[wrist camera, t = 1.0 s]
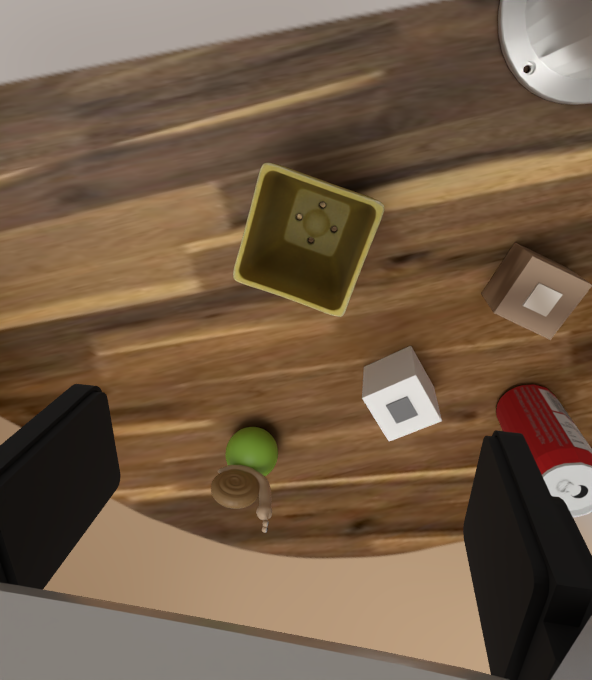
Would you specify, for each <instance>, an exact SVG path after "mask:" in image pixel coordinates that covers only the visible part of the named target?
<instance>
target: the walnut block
mask: <svg viewBox="0 0 592 680" xmlns="http://www.w3.org/2000/svg"><path fill="white" fill-rule="evenodd" d="M591 287H592V284H590V283H589V282H587V281H586V280H585V279H583V278H582V277H580V276H579V275H577V274H576V273H575V272H573V271H572V270H570V269H569V268H567V267H565V266H563V265H561V264H559V263H557V262H555V261H553V260H550V259H548V258H546V257H544V256H542V255H540V254H538V253H536V252H534V251H532V250H530V249H528V248H526V247H523V246H521V245H519V244H517V243H514V245H513V246H512V248H511V249H510V251H509V252H508V254H507V255H506V257H505V258H504V260H503V261H502V263H501V264H500V266H499V267H498V269H497V270H496V272H495V273H494V275H493V276H492V278H491V279H490V281H489V283H488V284H487V286H486V287H485V289H484V290H483V292H482V293H481V294H482V296H483V297H484V299H485V300H486V302H487V303H488V305H489V306H490V308H491V309H492V311H493V312H494V313H495V314H497V315H499V316H501V317H503V318H505V319H508V320H510V321H512V322H514V323H516V324H518V325H520V326H522V327H524V328H527V329H529V330H531V331H533V332H535V333H537V334H539V335H541V336H543V337H545V338H548V339H550V340H551V338H552V337H553V336H554V335H555V333H556V332H557V331H558V329H559V328H560V327H561V325H562V324H563V323H564V322H565V320H566V319H567V318H568V316H569V315H570V314H571V312H572V311H573V310H574V309H575V307H576V306H577V305H578V303H579V302H580V301H581V299H582V298H583V297H584V296H585V294H586V293H587V292H588V290H589V289H590V288H591Z"/></svg>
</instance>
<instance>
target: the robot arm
mask: <svg viewBox="0 0 592 680" xmlns="http://www.w3.org/2000/svg"><path fill="white" fill-rule="evenodd" d="M498 35H499V40H500V44H501V49H502V53H503V56H504V58H505V60H506V62H507V65H508V67H509V69H510V70H511V72H512V73H513V75H514V76H515V77H516V79H517V80H518V81H519V82H520V83H521V84H522V85H523V86H524V87H525V88H526V89H528V90H529V91H530V92H531V93H533V94H535V95H537V96H539V97H541V98H543V99H545V100H548V101H552V102H556V103H559V104H574V105H580V104H588V103H592V0H500V5H499V12H498ZM525 66H529V72H528V73H524V71H523V68H524V67H525ZM119 482H120V469H119V464H118V458H117V452H116V446H115V440H114V434H113V428H112V422H111V417H110V411H109V405H108V399H107V395H106V394H105V393H103V392H102V391H101V389H100V388H99V387H98V386H91V385H82V384H74V385H73V386H71V387H70V388H69V389H68V390H66V391H65V392H64V393H63V394H62V395H60V396H59V397H58V398H57V399H56V400H54V401H53V402H52V403H51V404H50V405H48V406H47V407H46V408H45V409H44V410H42V411H41V412H40V413H39V414H37V415H36V416H35V417H34V418H33V419H31V420H30V421H29V422H28V423H27V424H25V425H24V426H23V427H22V428H21V429H19V430H18V431H17V432H16V433H15V434H14V435H12V436H11V437H10V438H9V439H7V440H6V441H5V442H4V443H3V444H2V445H0V680H592V555H591V554H590V551H589V549H588V548H587V545H586V543H585V541H584V539H583V537H582V535H581V533H580V531H579V529H578V527H577V525H576V523H575V521H574V519H573V517H572V515H571V513H570V511H569V509H568V507H567V505H566V503H565V502H564V500H563V499H561V498H560V497H555V496H551V494H550V492H549V489H548V487H547V485H546V483H545V481H544V479H543V476H542V474H541V472H540V470H539V468H538V466H537V463H536V461H535V459H534V457H533V455H532V453H531V450H530V448H529V446H528V444H527V442H526V440H525V437H524V436H523V434H521V433H514V432H505V431H494V433H493V435H492V436H485V437H484V439H483V443H482V447H481V452H480V456H479V460H478V465H477V469H476V473H475V478H474V482H473V486H472V491H471V495H470V499H469V504H468V508H467V512H466V517H465V521H464V531H463V533H464V542H465V546H466V552H467V557H468V561H469V566H470V572H471V577H472V582H473V587H474V592H475V597H476V601H477V606H478V611H479V616H480V622H481V627H482V631H483V637H484V641H485V647H486V652H487V657H488V662H489V667H490V672H491V675H489V674H485V673H481V672H478V671H474V670H470V669H465V668H461V667H456V666H451V665H446V664H442V663H436V662H432V661H427V660H422V659H417V658H412V657H407V656H402V655H398V654H393V653H388V652H383V651H377V650H372V649H367V648H362V647H357V646H351V645H345V644H341V643H335V642H329V641H324V640H319V639H314V638H308V637H303V636H298V635H292V634H287V633H282V632H276V631H270V630H265V629H260V628H255V627H249V626H244V625H238V624H233V623H227V622H222V621H216V620H211V619H205V618H200V617H194V616H188V615H183V614H177V613H172V612H166V611H161V610H155V609H149V608H144V607H139V606H133V605H127V604H122V603H116V602H110V601H105V600H99V599H93V598H88V597H82V596H76V595H70V594H65V593H58V592H53V591H47V590H43V589H44V587H45V586H46V585H47V583H48V582H49V581H50V579H51V578H52V576H53V575H54V574H55V572H56V571H57V570H58V568H59V567H60V566H61V564H62V563H63V562H64V560H65V559H66V557H67V556H68V555H69V553H70V552H71V550H72V549H73V548H74V547H75V545H76V544H77V542H78V541H79V540H80V538H81V537H82V536H83V534H84V533H85V532H86V530H87V529H88V527H89V526H90V525H91V523H92V522H93V521H94V519H95V518H96V517H97V515H98V514H99V513H100V511H101V510H102V508H103V507H104V506H105V504H106V503H107V502H108V500H109V499H110V498H111V496H112V495H113V493H114V492H115V491H116V489H117V488H118V485H119Z"/></svg>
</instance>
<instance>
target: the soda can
mask: <svg viewBox="0 0 592 680" xmlns="http://www.w3.org/2000/svg"><path fill="white" fill-rule="evenodd" d="M496 414H497V418H498V420H499V423H500V425H501V428H502V430H503V431H505V432H514V433H521V434H523V436H524V437H525V440H526V442H527V444H528V446H529V448H530V450H531V453H532V455H533V457H534V459H535V461H536V463H537V466H538V468H539V470H540V472H541V474H542V476H543V479H544V481H545V483H546V485H547V487H548V489H549V492H550V494H551V496H555V497H560V498H561V499H563V500H564V502H565V503H566V505H567V507H568V509H569V511H570V513H571V515H572V517H579V516H583V515H587V514H589V513H591V512H592V449H591V447H590V446H589V444H588V443H587V441H586V440H585V438H584V437H583V436H582V434H581V433H580V431H579V430H578V428H577V427H576V425H575V424H574V422H573V421H572V419H571V418H570V416H569V415H568V414H567V412H566V411H565V409H564V408H563V406H562V405H561V403H560V402H559V400H558V399H557V397H556V396H555V395H554V394H553V393H552V392H550V391H549V390H548V389H547V388H545V387H542V386H538V385H534V384H532V385H521V386H518V387H515V388H513V389H511V390H509V391H508V392H506V393H505V394H504V395H503V396H502V397H501V399H500V400H499V402H498V404H497V409H496Z"/></svg>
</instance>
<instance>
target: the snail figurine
mask: <svg viewBox="0 0 592 680" xmlns="http://www.w3.org/2000/svg"><path fill="white" fill-rule="evenodd" d="M277 458H278V448H277V444H276V442H275V440H274V438H273V437H272V436H271V434H270V433H268V432H267V431H266V430H264V429H261V428H258V427H247V428H243V429H241V430H239V431H238V432H236V433H235V434H234V435H233V436H232V437H231V439H230V440H229V442H228V445H227V448H226V461H227V464H228V466H225V467H223V468H220V469H219V470H218V472H219V473H220V474H218V475H217V476H216V477H215V478H214V480H213V481H212V484H211V492H212V495H213V497H214V499H215V500H216V501H217V502H218V503H219V504H221V505H223V506H225V507H228V508H233V509H239V508H244V507H247V506H249V505H251V504H252V503H254V502H255V501H256V499H257V498H258V496H259V507H258V508H257V516H258V517H259V518H260V519H261V520H265V521H263V527H262V531H263V532H267V530H268V527H267V526H268V524H269V522H268V519H269V518H270V517H271V516H272V508H271V489H270V485H269V482H268V480H267V479H266V477H265V476H266V475H268V474H269V473H270V472H271V471H272V470H273V468H274V466H275V464H276V462H277Z"/></svg>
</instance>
